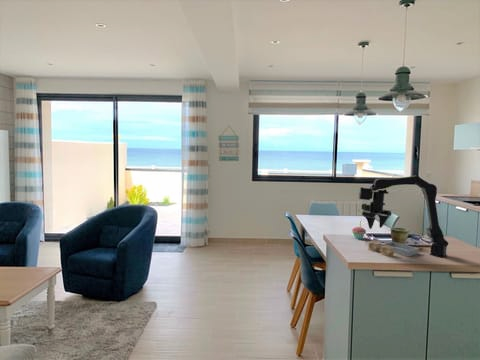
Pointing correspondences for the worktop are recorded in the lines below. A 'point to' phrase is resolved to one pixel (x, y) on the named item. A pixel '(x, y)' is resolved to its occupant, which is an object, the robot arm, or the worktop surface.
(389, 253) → the block
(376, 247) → the block
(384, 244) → the tray
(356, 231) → the cupcake
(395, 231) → the ceramic cup
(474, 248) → the worktop surface
